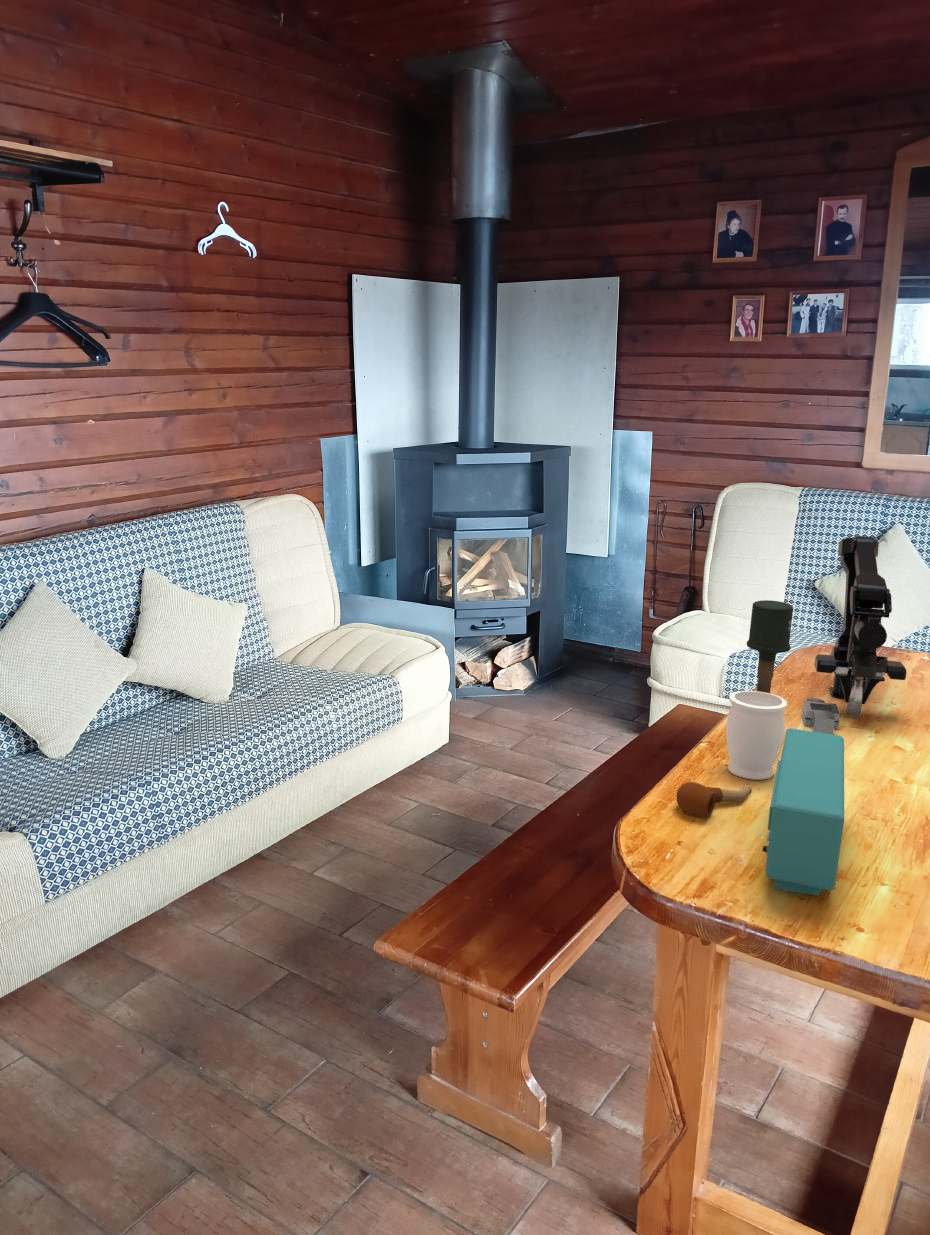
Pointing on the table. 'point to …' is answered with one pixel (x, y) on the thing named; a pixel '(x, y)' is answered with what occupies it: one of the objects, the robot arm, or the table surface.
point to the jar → (754, 733)
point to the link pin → (855, 696)
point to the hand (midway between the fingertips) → (854, 702)
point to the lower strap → (809, 720)
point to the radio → (806, 813)
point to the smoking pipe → (706, 798)
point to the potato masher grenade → (769, 637)
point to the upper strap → (821, 715)
